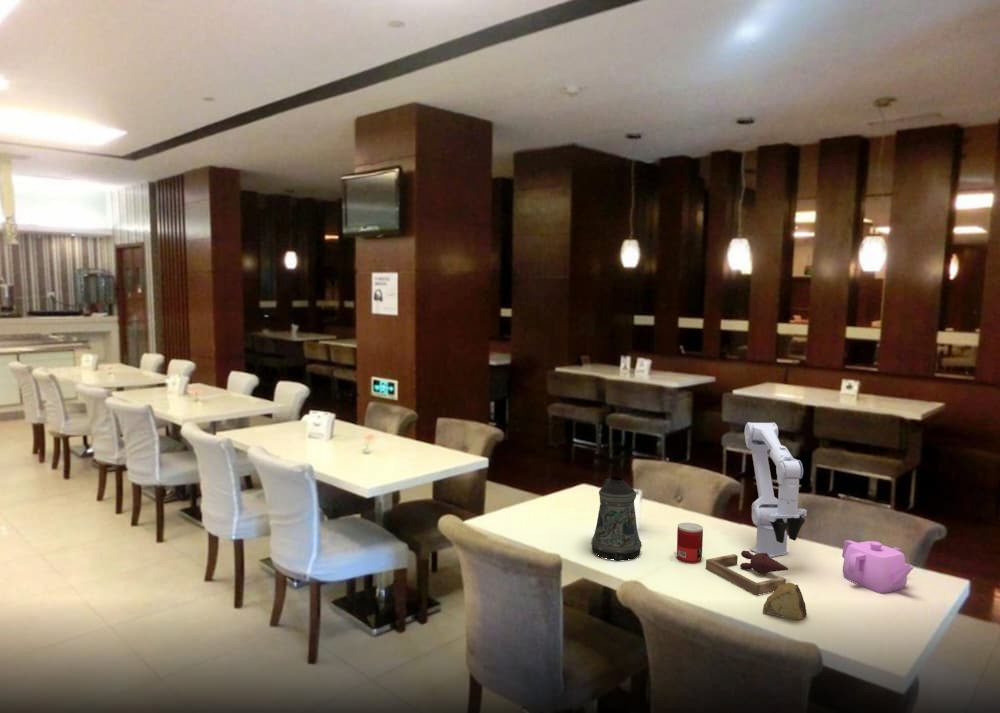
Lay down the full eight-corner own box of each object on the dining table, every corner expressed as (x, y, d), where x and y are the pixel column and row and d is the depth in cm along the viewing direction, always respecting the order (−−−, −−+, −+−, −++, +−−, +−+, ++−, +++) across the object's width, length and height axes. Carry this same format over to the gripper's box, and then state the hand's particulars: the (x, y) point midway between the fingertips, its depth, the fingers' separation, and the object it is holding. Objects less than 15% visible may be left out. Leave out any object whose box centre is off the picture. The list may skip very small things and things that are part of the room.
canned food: (702, 564, 216) (704, 531, 215) (677, 562, 218) (678, 529, 217) (700, 555, 224) (701, 523, 223) (675, 553, 226) (676, 521, 225)
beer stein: (620, 565, 215) (621, 489, 213) (574, 548, 230) (576, 476, 227) (651, 553, 226) (653, 479, 224) (606, 537, 240) (607, 468, 238)
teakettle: (839, 567, 215) (841, 530, 214) (900, 576, 209) (902, 537, 208) (846, 589, 199) (848, 548, 198) (912, 598, 193) (915, 557, 192)
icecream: (793, 556, 207) (746, 548, 217) (784, 557, 202) (736, 548, 212) (792, 580, 206) (745, 570, 216) (782, 581, 201) (734, 570, 211)
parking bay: (733, 563, 218) (734, 554, 217) (785, 588, 199) (786, 579, 198) (705, 568, 213) (706, 559, 213) (755, 595, 194) (756, 585, 194)
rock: (754, 607, 182) (790, 615, 175) (760, 576, 186) (797, 583, 178) (770, 621, 188) (807, 629, 180) (777, 591, 191) (812, 598, 184)
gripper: (781, 504, 204) (779, 548, 205) (815, 499, 210) (813, 541, 211) (763, 498, 210) (761, 540, 212) (797, 493, 216) (795, 534, 218)
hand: (786, 540), depth 212 cm, fingers open, 5 cm apart
